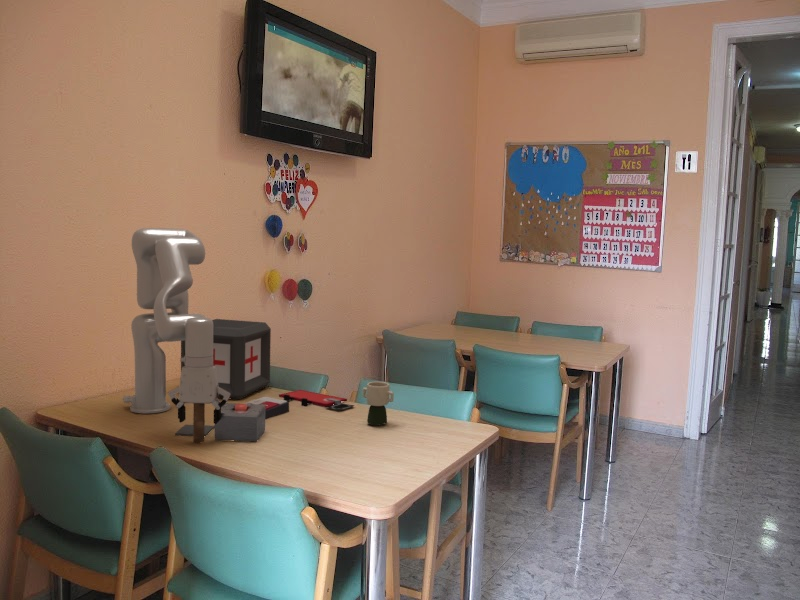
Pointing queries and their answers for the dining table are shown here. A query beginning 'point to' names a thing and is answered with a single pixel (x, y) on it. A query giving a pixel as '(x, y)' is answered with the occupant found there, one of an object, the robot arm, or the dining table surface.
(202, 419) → the brown cylinder
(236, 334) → the first aid kit
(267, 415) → the calculator
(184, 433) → the rest pad
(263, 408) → the guard box
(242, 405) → the red ball
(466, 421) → the dining table surface
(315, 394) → the red board with handle
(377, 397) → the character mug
